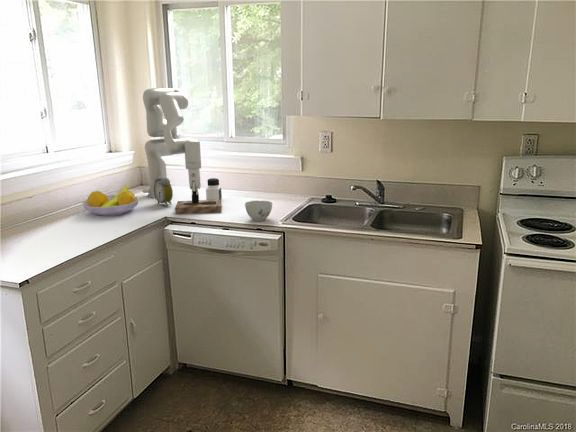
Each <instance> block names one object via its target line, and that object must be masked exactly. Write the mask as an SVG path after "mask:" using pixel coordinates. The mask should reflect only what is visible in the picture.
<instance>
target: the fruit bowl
mask: <svg viewBox="0 0 576 432" xmlns="http://www.w3.org/2000/svg"><path fill="white" fill-rule="evenodd" d="M138 204H139V198H138V196H136V195H135V193H134V192H132V191H131V190H129V183H126V185H125V186H124V187H123V188H122V189H121V190H120V191H119V192H117V193H116V194H115V195H113V194H112V195H111V194H109V195H106V194H105V193H103V192H101V191H99V190H95V191H91V192H90V194H89V195H88V197H87V199H86V200H83V201H82V202H81V205H82V207H83V209H84V210H85V211H86V212H87V213H91V214H94V215H96V216H100V217H101V216H118V215H122V214H124V213H127V212H129V211H131V210H133V209H134V208H136V207H137V205H138Z"/></svg>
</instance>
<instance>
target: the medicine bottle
mask: <svg viewBox="0 0 576 432" xmlns="http://www.w3.org/2000/svg"><path fill="white" fill-rule="evenodd" d="M222 195H223V194H222V186H220V180H219V178H215V177H214V178H213V177H211V178H209V179H207V188H206V189H205V198H206V199H205V200H221V201H222V199H223V198H222V197H223V196H222Z"/></svg>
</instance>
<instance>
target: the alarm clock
mask: <svg viewBox="0 0 576 432" xmlns="http://www.w3.org/2000/svg"><path fill="white" fill-rule="evenodd" d="M173 193H174V192H173V188H172V185H171V180H170V179H169V178H168V177H167V178H163V177H162V176H158V177H156V179H155V184H154V195H155V198H154V199H155V200H156V201H157V205H159V204H164V206H165V208H168V204H170V205H172V202H171V201H172V200H173V196H174V194H173Z"/></svg>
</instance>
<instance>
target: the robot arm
mask: <svg viewBox="0 0 576 432" xmlns="http://www.w3.org/2000/svg"><path fill="white" fill-rule="evenodd" d="M142 100H143V101H142V102H143V106H144V108H145V116H146V133H147V135H148V136H149V137H150V138H155V139H150V140H147V141H146V142H145V144H144V152H145V155H146V159H147V167H148V180H149V188H142V189H141V190H142V194H143V193H144V194H147V197H148V198H152V199H156V198H155V195H154V184H155V179H156V177H158V176H162V177H163V178H168V177H167V176H168V175H167V165H166V162H165V160H163V158H162V157H168V156H173V155H181V154H184V163H185V164H184V165H185V169H186V170H188V171H187V172H188V182H189V189H190V190H191V201H192V203H198V202H199V200H200V196H199V195H200V194H199V190H200V189H201V185H202V184H201V172H200V169H202V162H201V161H202V157H201V156H202V155H201V153H202V152H201V142H200V140H199V139H195V138H192V137H183V138H182V137H180V138H178V130H177V127H179V126H180V125H182V124H183V122H184V116H183V113H182V111H181V110H185V109H187V108H188V106H189V98H188V97H187V95H186V94H185V93H184V92H183V91H181V90H179V89H177V88H174V87H162V88H161V87H155V88H153V87H152V88H146V89H145V90H144V91H143V94H142ZM163 116H164V117H163ZM162 137H163V138H162ZM192 188H193V189H192ZM195 188H196V189H195ZM197 188H198V191H197ZM198 198H199V199H198Z"/></svg>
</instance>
